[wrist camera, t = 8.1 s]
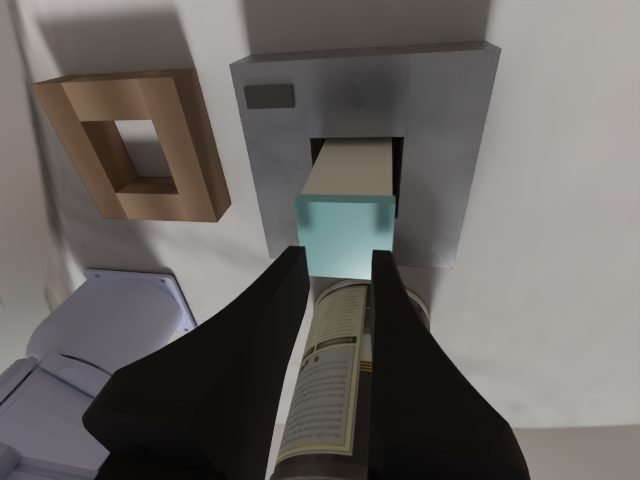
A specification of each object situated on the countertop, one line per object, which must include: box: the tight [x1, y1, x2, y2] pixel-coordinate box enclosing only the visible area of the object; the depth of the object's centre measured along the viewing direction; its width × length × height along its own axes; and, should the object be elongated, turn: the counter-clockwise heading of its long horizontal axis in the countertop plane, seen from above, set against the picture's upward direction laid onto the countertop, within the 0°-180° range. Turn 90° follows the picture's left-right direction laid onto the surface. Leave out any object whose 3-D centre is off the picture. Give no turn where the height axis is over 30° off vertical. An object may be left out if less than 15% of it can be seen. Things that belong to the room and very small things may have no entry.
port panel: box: [229, 41, 501, 269], centre depth 19 cm, size 12×12×3 cm
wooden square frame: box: [30, 69, 231, 223], centre depth 21 cm, size 9×9×2 cm
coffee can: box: [270, 279, 430, 480], centre depth 23 cm, size 10×10×14 cm
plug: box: [294, 137, 395, 280], centre depth 17 cm, size 4×4×9 cm
